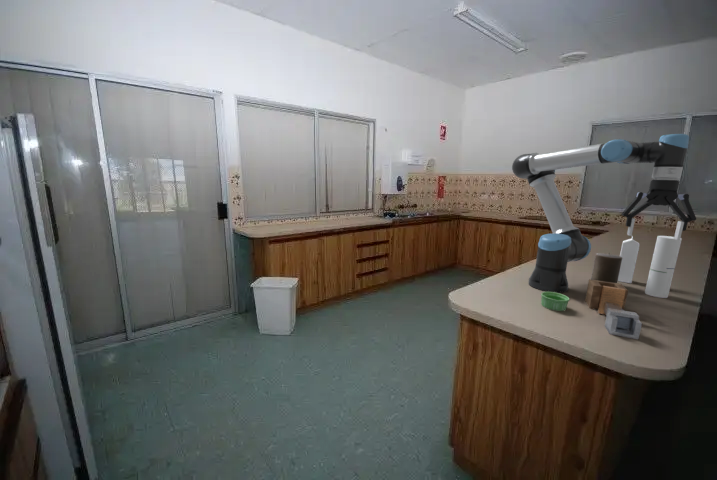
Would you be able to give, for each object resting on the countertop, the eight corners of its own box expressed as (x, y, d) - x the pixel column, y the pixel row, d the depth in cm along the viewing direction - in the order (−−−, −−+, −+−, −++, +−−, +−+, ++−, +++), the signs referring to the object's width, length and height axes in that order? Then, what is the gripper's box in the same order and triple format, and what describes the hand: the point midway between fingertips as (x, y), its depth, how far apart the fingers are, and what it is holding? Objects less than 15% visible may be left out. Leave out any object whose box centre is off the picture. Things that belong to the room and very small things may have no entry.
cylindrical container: (672, 298, 127) (686, 239, 122) (652, 296, 129) (665, 238, 124) (659, 292, 134) (672, 236, 129) (640, 290, 136) (653, 235, 130)
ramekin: (538, 300, 122) (539, 290, 121) (564, 304, 118) (566, 293, 117) (541, 309, 114) (543, 298, 113) (570, 313, 110) (572, 302, 109)
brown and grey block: (608, 328, 99) (614, 299, 97) (594, 306, 116) (599, 281, 114) (632, 333, 96) (639, 303, 94) (614, 309, 114) (619, 284, 112)
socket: (589, 308, 115) (593, 285, 114) (585, 300, 122) (589, 279, 121) (623, 314, 111) (628, 290, 109) (616, 306, 118) (621, 283, 116)
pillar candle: (613, 288, 137) (620, 256, 134) (587, 282, 145) (593, 251, 142) (618, 284, 143) (625, 253, 140) (593, 279, 151) (599, 249, 148)
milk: (630, 280, 150) (641, 236, 145) (631, 283, 145) (641, 238, 141) (614, 277, 154) (624, 234, 149) (614, 280, 149) (624, 236, 144)
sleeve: (609, 333, 96) (613, 315, 95) (604, 325, 101) (608, 308, 100) (638, 339, 93) (642, 320, 92) (631, 331, 98) (635, 312, 97)
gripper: (624, 178, 113) (613, 235, 117) (720, 180, 102) (703, 242, 106) (618, 178, 119) (608, 232, 124) (707, 180, 109) (692, 239, 113)
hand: (652, 237), depth 115 cm, fingers open, 13 cm apart
